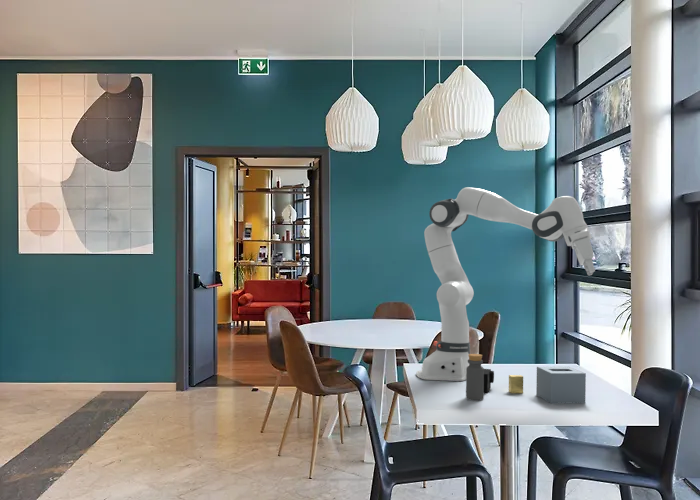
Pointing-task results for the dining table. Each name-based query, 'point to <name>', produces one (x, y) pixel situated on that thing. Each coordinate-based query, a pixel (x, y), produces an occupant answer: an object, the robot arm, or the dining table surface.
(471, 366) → the bottle
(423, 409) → the dining table surface
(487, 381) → the digital camera
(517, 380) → the block
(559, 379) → the box
